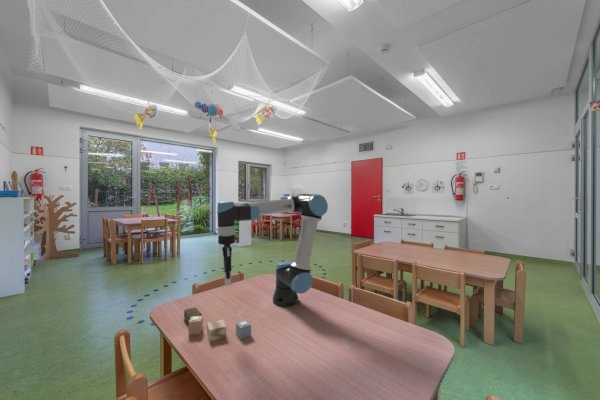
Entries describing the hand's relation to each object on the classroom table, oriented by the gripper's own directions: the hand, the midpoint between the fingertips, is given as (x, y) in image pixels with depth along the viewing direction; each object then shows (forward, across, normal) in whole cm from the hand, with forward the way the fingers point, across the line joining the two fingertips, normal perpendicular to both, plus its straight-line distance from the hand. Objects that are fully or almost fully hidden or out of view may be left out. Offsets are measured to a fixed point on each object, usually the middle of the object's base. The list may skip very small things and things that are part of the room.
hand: (227, 284), depth 119 cm
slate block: (+21, +8, +5) cm, 23 cm away
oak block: (+21, +4, -6) cm, 22 cm away
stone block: (+21, -13, -16) cm, 29 cm away
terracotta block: (+20, -2, -15) cm, 25 cm away
